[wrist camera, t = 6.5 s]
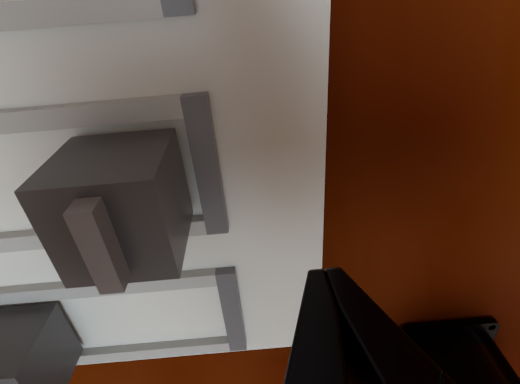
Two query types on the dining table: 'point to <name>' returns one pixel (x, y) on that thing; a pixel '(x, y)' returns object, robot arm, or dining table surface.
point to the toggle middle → (112, 209)
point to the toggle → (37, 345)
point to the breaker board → (192, 153)
